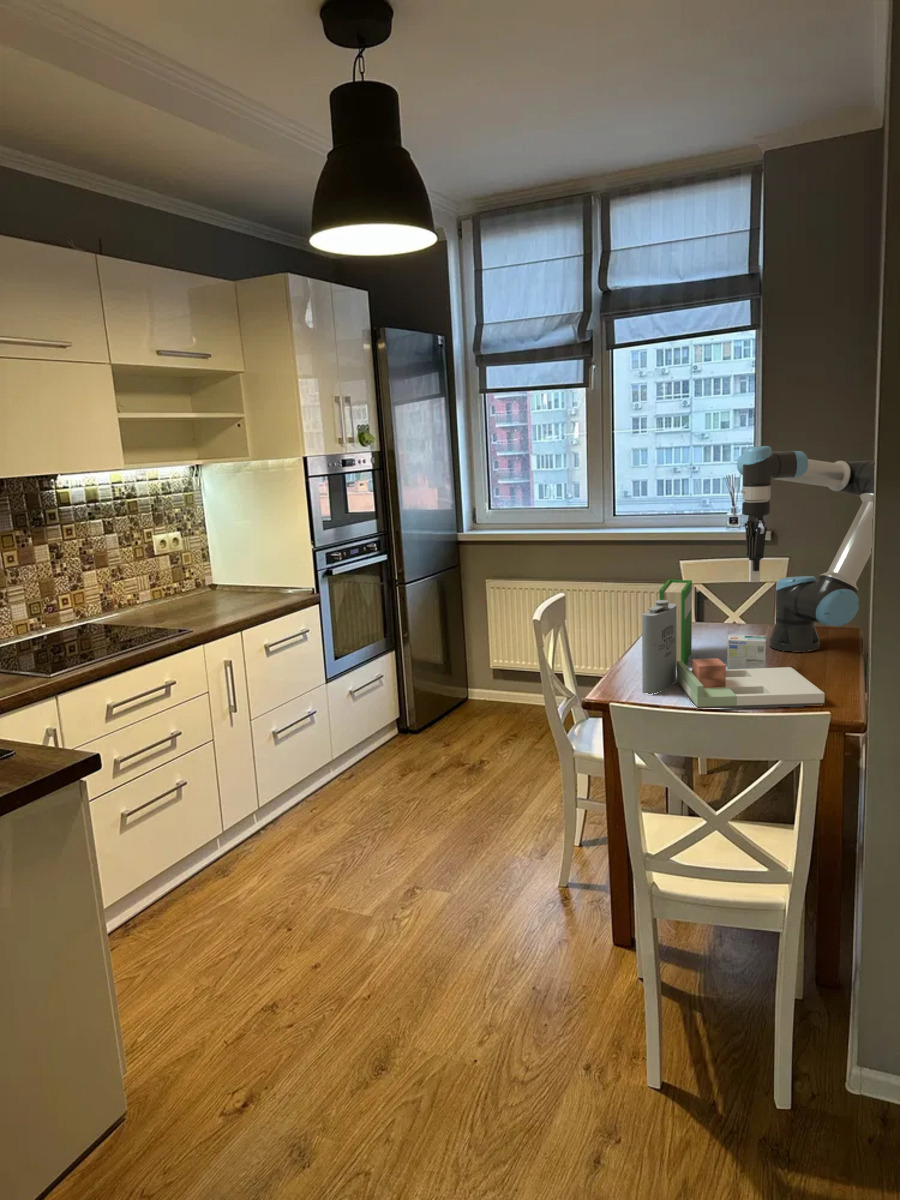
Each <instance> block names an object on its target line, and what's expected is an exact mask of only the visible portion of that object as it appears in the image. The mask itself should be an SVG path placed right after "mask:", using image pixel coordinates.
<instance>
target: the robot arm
mask: <svg viewBox="0 0 900 1200" xmlns="http://www.w3.org/2000/svg"><path fill="white" fill-rule="evenodd" d="M875 461H876V460H858V461H856V460H855V461H846V460H837V461H834V462H831V461H822V460H816V459H810V458H808V456H807V455H806V453H804V452H803V451H801V450H790V451H772V447H771V446H769V445H763V446H748V447H746V448H744V450H743V453H742V454H741V455H740V456H738V459H737V463H736V468H737V471H738V472H739V473H740V475H742V489H741V490H740V493H741V494H742V500H743V502H742V503H741V506H742V509H741V513H742V515H743V516H748V518H747V521H746V522H745V523H744V530H745V541H746V542H745V545H746V556H747V557H748V561H749V562H748V563H749V564H748V571H749V572H748V582H749V583H760V582H761V560H763V559H764V556H765V555H764V554H765V545H766V536H767V532H768V527H767V526H765V525H766V524H765V523H766V522H765V519H764V516H767V515H770V513H771V502H770V501H769V500H770V499H771V492H772V491H771V490H772V489H771V488H772V487H771V485H772V484H771V482H772V480H778V481H785V482H793V483H798V484H804V485H805V484H806V485H813V486H819V487H820V486H821V487H827V488H828V489H830V490H831V491H834V492H839V493H843V494H847V495H851V496H852V495H853V496H856V497H860V499H861V505H860V507H859V509H858V511H857V513H856V515H855V517H854V519H853V521H852V522H851V525H850V527H849V529H848V531H847V533H846V534H845V536H844V539H843V540H842V542H841V545H840V546H839V548H838V550H837V552H836V554H835V556H834V557H833V560H832V562H831V564H830V566H829V568H828V570H827V571H826V572H824V573H821V574H819V576H818V578H816V577H815V576H814V575H813V576H812V575H801V576H799V575H798V576H789V577H781V578H780V579H778V580H777V582H776V587H775V623H774V625H773V628H772V632H771V634H770V636H769V641H768V646H769V645H770V646H771V647H772V648H775V649H778V650H777V651H779V650H784V651H808V650H814V649H817V648H819V647H821V645H820V644H821V641H820V637H819V634H818V631H817V629H816V625H815V623H819V624H822V625H825V626H833V627H841V626H843V625H847V624H848V623H850V622H851V621H852V620H853V619H854V618H855V617H856V615H857V613H858V611H859V609H860V604H859V601H860V599H859V595H858V591H859V588H858V586H857V582H858V579H859V578H860V576H861V573H862V572H863V570H864V569H865V568H864V567H866V564H867V562H868V561H869V558H870V556H871V554H872V552H871V548H872V519H873V499H874V465H875ZM771 647H770V648H771ZM772 648H771V649H772ZM775 649H774V650H775ZM819 649H820V648H819ZM784 651H783V652H784Z"/></svg>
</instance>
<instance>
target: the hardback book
mask: <svg viewBox="0 0 900 1200" xmlns="http://www.w3.org/2000/svg"><path fill="white" fill-rule="evenodd" d="M658 591H659V599H658V600H667V601H669V603H672V604H677V609H676V666H677V661H683V662H684V664H685V665H686V666H687V664H688V662H689V659H690V657H691V655H692V653H693V652H692V646H693V645H692V641H693V639H692V635H693V633H692V631H693V630H692V628H693V627H692V625H693V623H692V622H693V620H692V619H693V618H692V617H693V609H692V607H693V580H692V579H688V580H687V579H686V580H685V579H667V580H666V581H665V583H664V584H663V585H662V586H661V588H660V589H659V590H658Z"/></svg>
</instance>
